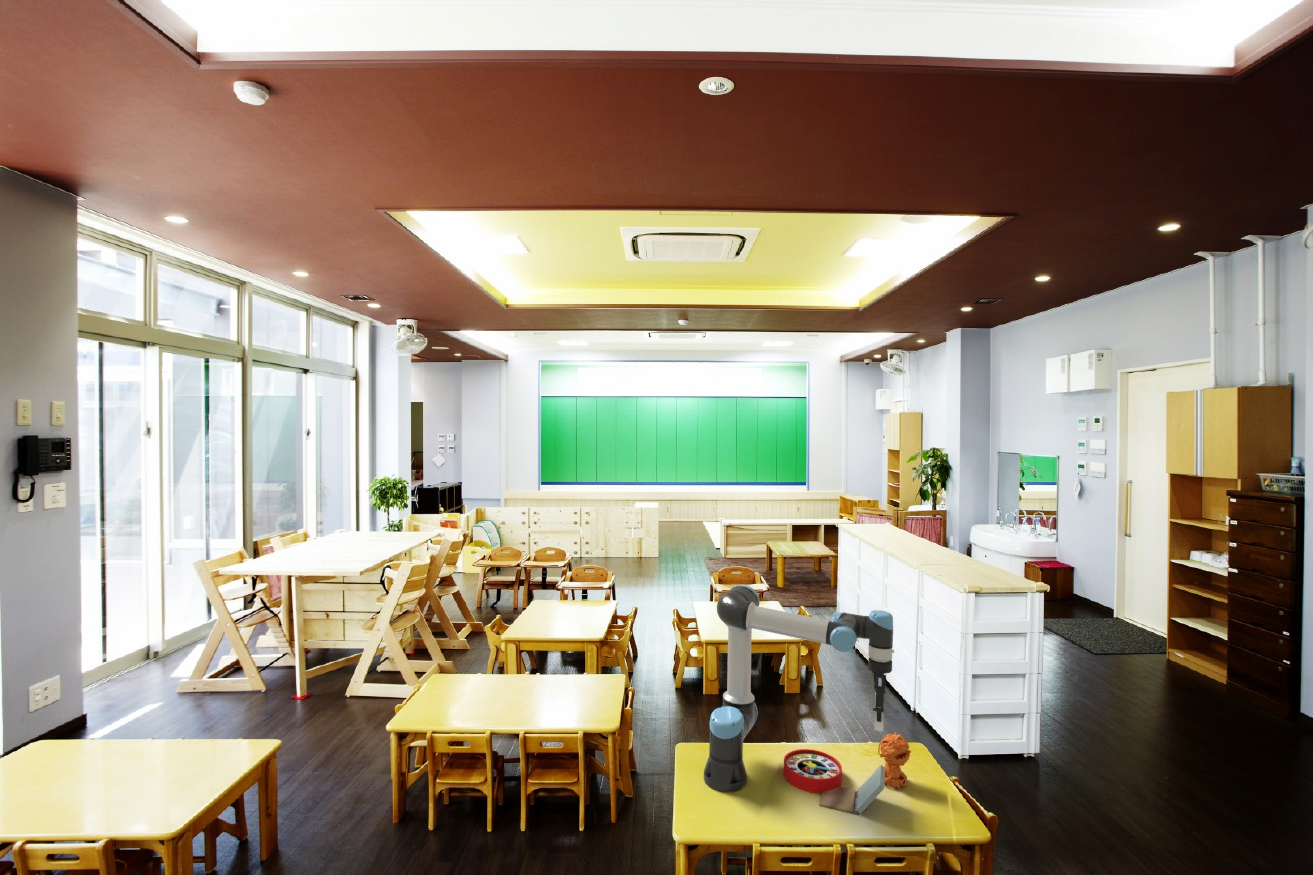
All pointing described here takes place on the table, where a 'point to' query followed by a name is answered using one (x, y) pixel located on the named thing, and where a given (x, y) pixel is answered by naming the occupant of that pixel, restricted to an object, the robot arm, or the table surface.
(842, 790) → the hinge base
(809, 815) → the table surface
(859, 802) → the hinge leaf
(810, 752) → the toy clock
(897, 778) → the orange figurine
